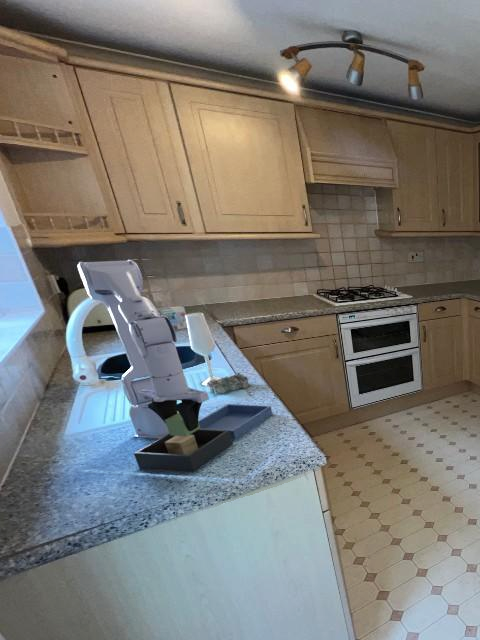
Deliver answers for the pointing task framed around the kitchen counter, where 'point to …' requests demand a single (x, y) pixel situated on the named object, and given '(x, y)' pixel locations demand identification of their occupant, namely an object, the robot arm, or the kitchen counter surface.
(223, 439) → the black basket
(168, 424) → the green cube
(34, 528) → the kitchen counter surface
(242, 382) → the egg carton
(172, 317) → the light bulb box
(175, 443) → the cream cube
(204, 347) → the champagne flute
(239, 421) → the blue box
